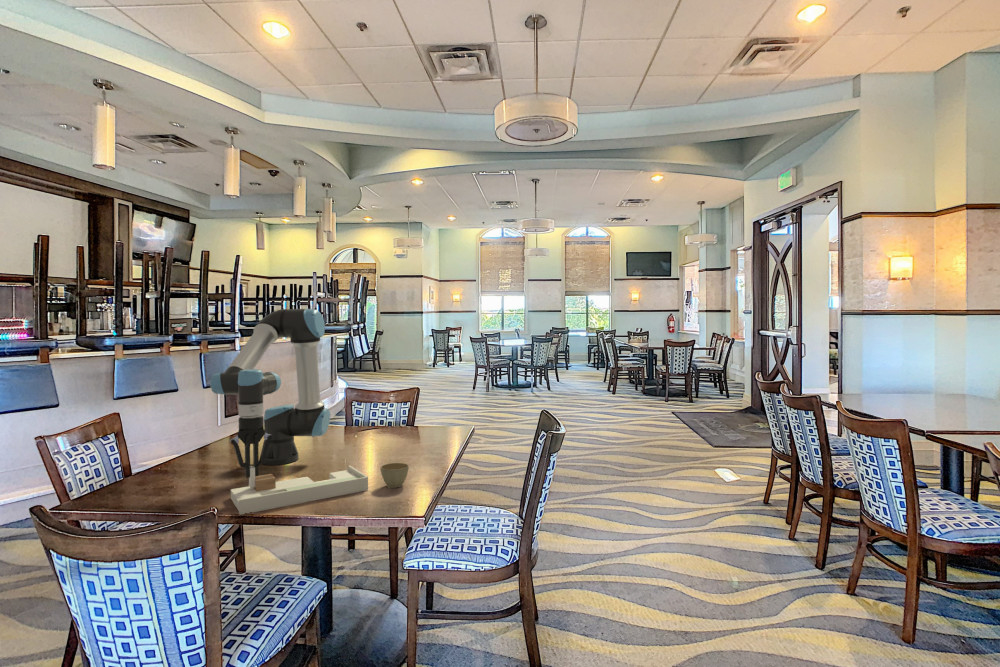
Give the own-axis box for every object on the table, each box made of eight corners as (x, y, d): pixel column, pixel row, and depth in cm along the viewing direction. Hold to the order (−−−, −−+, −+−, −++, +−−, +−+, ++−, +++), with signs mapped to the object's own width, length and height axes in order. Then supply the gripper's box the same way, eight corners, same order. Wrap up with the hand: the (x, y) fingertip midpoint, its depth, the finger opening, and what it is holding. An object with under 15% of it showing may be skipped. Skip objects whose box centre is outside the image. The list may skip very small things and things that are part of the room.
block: (252, 486, 180) (252, 476, 180) (271, 483, 183) (271, 473, 183) (256, 491, 175) (256, 480, 175) (275, 488, 178) (275, 477, 178)
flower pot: (413, 483, 193) (413, 463, 193) (400, 491, 183) (399, 471, 183) (389, 480, 196) (389, 461, 196) (375, 488, 187) (374, 468, 187)
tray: (229, 498, 177) (229, 485, 177) (350, 477, 201) (350, 465, 201) (239, 514, 162) (239, 500, 162) (368, 489, 185) (368, 477, 185)
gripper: (231, 419, 170) (232, 493, 170) (274, 415, 177) (275, 485, 178) (227, 416, 176) (228, 487, 176) (269, 412, 183) (270, 480, 184)
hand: (252, 486), depth 177 cm, fingers closed
